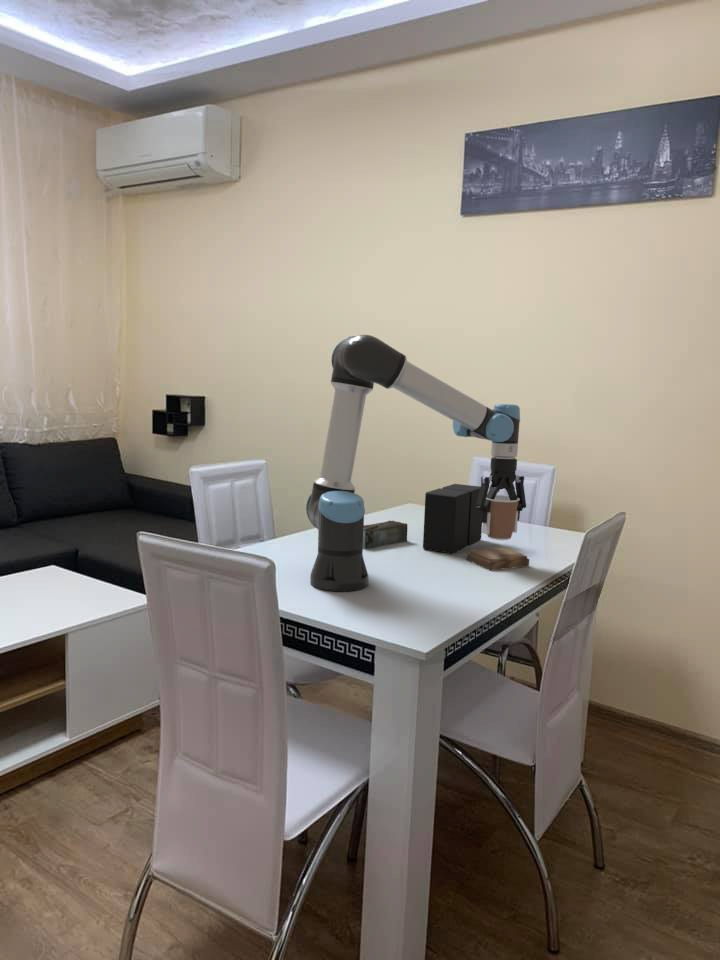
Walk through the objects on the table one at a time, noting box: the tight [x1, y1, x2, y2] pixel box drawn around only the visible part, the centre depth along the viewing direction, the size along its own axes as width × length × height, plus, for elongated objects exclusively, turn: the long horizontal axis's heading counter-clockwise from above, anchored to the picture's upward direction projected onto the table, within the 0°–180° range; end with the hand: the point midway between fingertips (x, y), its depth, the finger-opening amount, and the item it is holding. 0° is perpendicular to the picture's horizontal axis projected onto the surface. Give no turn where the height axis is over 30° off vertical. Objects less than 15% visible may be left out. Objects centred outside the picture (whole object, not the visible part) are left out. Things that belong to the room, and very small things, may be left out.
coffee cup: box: [486, 494, 520, 541], centre depth 206 cm, size 10×10×12 cm
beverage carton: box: [363, 520, 408, 550], centre depth 228 cm, size 8×19×7 cm, turn 130°
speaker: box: [422, 483, 483, 555], centre depth 228 cm, size 25×11×19 cm, turn 150°
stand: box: [465, 547, 530, 571], centre depth 208 cm, size 14×12×3 cm
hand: (499, 532), depth 207 cm, fingers closed on coffee cup, 9 cm apart
